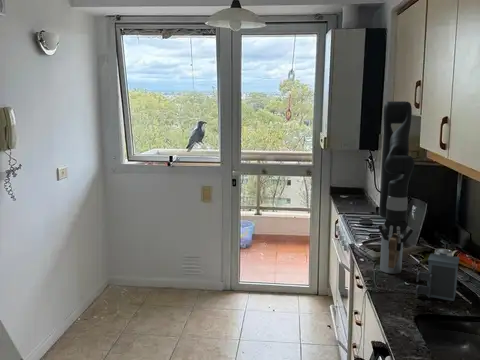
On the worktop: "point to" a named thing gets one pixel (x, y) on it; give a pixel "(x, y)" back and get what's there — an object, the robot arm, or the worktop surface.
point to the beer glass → (443, 252)
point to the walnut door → (393, 251)
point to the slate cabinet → (439, 277)
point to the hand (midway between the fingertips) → (394, 251)
